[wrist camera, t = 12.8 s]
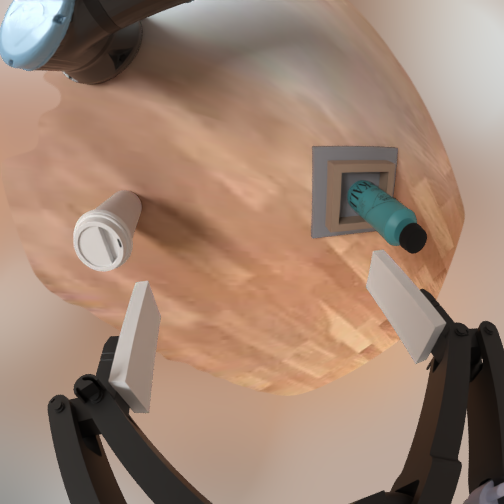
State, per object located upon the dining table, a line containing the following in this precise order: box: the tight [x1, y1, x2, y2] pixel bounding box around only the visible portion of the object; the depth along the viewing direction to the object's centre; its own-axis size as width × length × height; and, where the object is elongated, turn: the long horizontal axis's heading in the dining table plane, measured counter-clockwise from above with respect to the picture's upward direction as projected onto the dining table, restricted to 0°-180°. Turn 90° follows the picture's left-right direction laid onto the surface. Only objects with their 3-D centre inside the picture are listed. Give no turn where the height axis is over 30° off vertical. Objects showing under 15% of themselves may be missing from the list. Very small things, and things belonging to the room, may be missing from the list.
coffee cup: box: [74, 190, 142, 271], centre depth 40 cm, size 10×10×15 cm
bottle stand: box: [311, 146, 398, 238], centre depth 49 cm, size 18×18×4 cm
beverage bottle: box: [347, 180, 427, 254], centre depth 42 cm, size 6×7×20 cm
